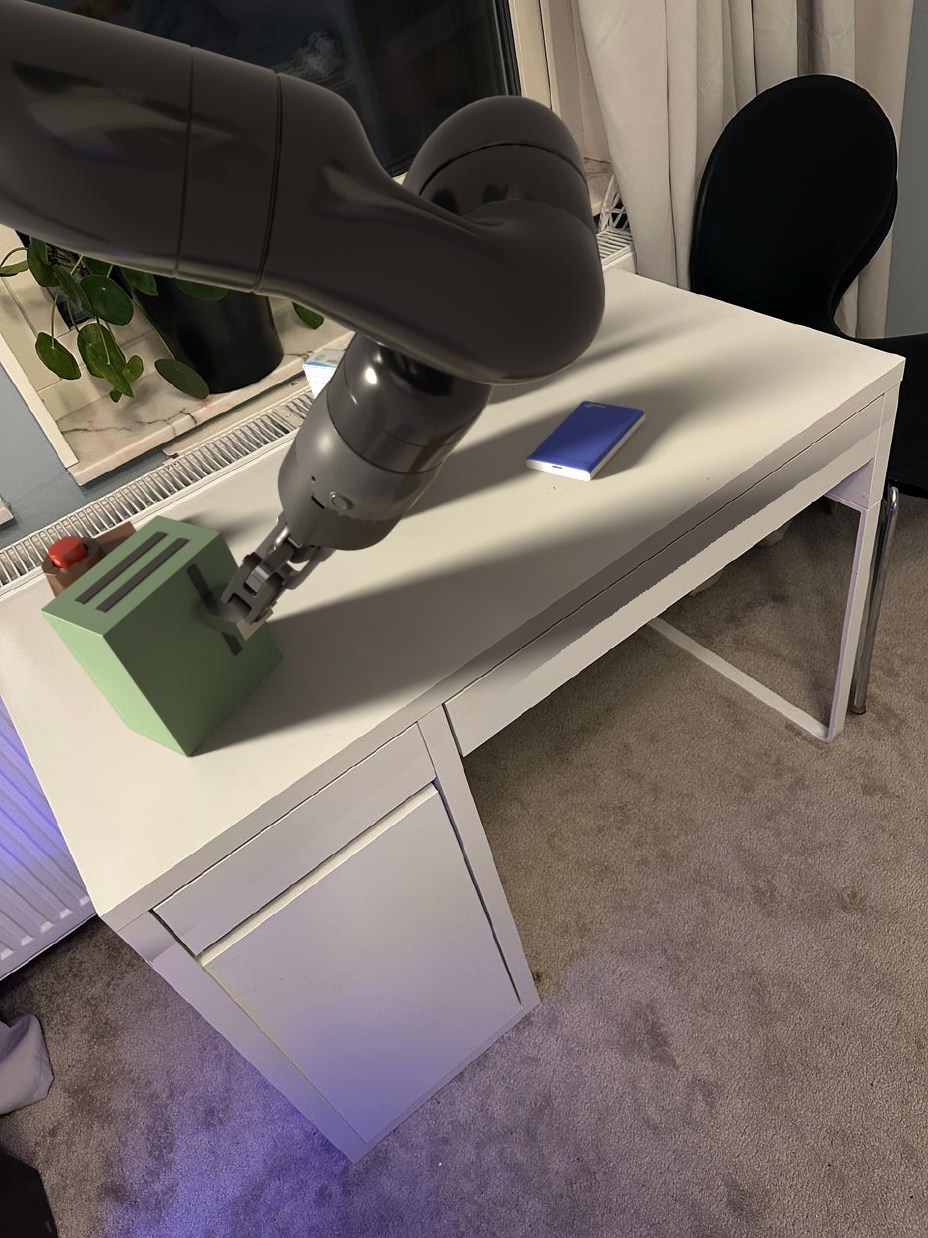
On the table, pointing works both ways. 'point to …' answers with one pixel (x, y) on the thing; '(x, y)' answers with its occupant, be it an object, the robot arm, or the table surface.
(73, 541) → the power button
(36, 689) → the table surface
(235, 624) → the toaster lever
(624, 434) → the hard drive
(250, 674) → the toaster
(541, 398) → the table surface
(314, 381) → the medicine box
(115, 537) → the switch block
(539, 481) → the table surface
